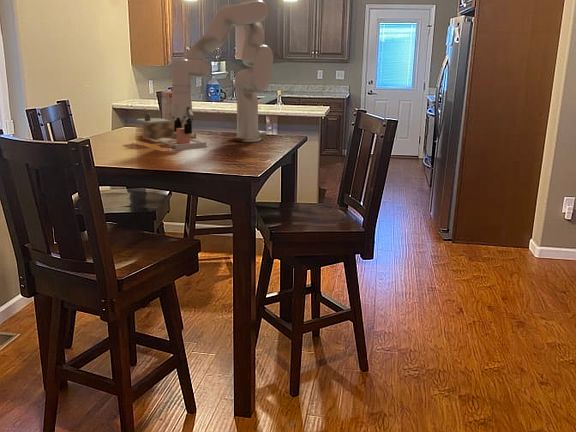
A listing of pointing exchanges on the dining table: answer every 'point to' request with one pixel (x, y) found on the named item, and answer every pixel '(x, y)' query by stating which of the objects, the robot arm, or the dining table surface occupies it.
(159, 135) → the small wooden cabinet
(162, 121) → the lid
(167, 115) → the cracker box
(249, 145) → the dining table surface
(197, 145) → the tray
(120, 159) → the dining table surface
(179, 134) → the block
